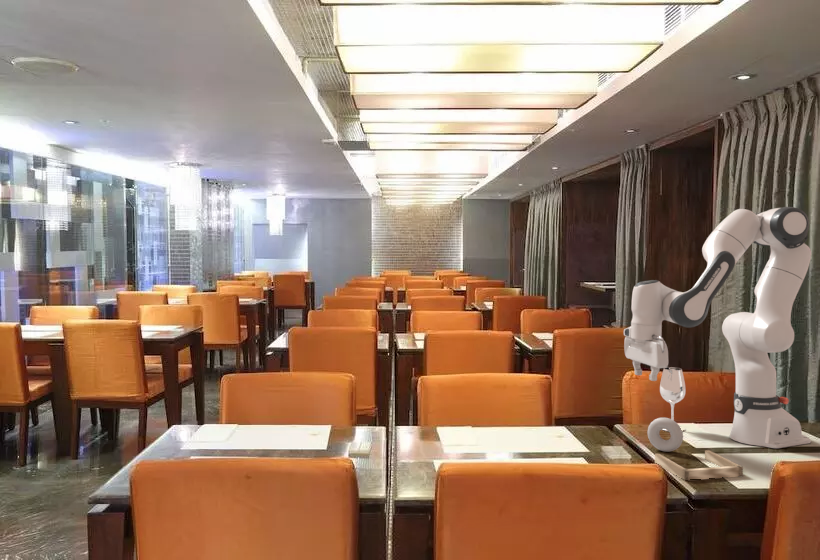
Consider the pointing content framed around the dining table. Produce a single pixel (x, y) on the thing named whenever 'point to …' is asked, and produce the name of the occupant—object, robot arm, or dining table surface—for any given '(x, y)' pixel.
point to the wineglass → (672, 387)
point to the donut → (661, 443)
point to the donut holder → (724, 470)
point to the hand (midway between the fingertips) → (645, 377)
